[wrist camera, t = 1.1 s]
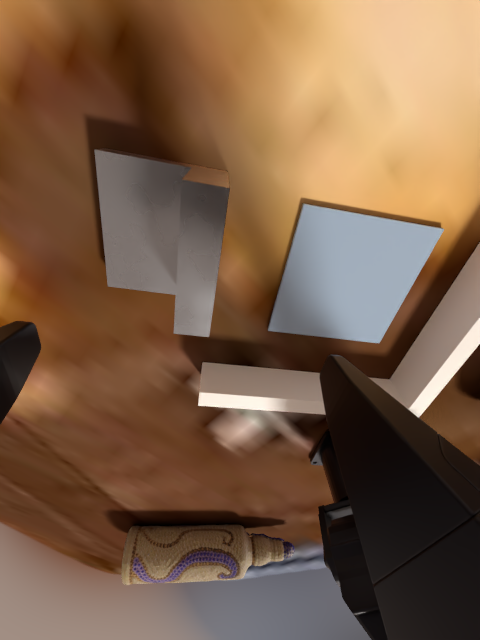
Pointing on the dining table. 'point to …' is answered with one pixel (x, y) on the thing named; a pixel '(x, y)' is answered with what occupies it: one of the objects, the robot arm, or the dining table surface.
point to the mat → (348, 273)
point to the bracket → (163, 230)
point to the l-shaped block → (405, 384)
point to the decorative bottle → (196, 553)
